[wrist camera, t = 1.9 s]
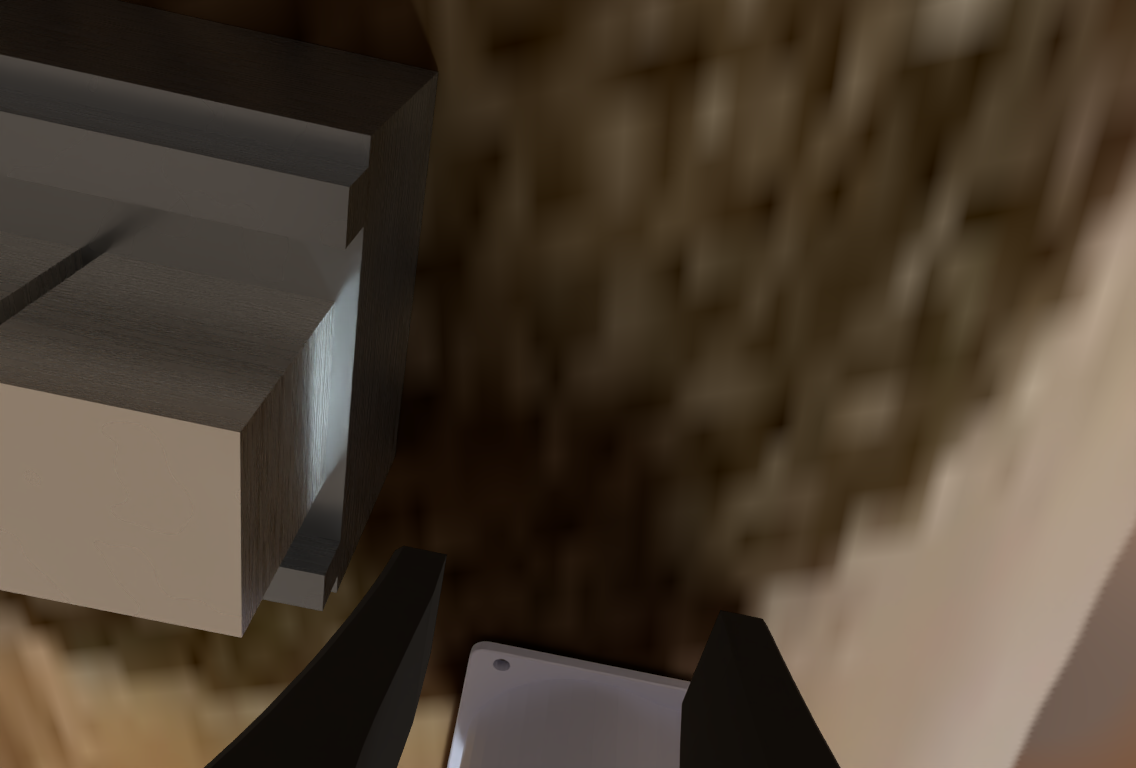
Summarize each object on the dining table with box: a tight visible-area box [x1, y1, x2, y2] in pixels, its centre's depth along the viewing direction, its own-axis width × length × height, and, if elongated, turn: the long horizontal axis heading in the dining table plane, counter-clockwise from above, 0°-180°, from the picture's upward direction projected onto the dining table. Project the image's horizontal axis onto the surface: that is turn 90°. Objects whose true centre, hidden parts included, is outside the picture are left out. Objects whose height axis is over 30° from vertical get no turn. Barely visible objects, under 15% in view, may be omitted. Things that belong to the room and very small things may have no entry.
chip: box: [0, 253, 335, 638], centre depth 14 cm, size 4×4×4 cm
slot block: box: [0, 0, 438, 611], centre depth 17 cm, size 9×10×6 cm
